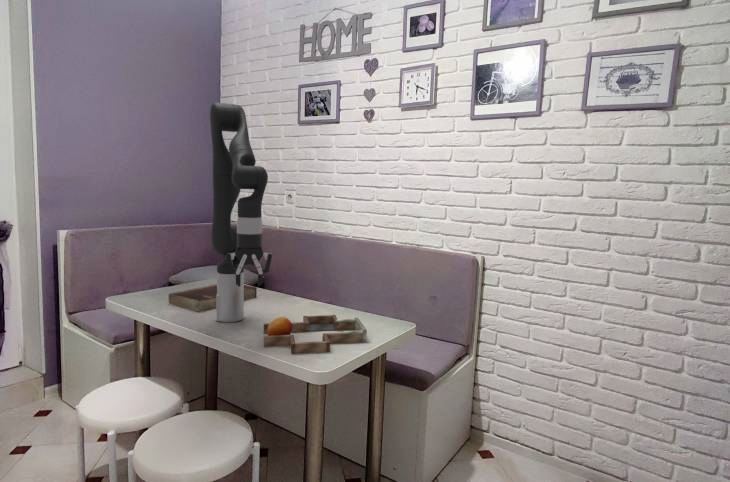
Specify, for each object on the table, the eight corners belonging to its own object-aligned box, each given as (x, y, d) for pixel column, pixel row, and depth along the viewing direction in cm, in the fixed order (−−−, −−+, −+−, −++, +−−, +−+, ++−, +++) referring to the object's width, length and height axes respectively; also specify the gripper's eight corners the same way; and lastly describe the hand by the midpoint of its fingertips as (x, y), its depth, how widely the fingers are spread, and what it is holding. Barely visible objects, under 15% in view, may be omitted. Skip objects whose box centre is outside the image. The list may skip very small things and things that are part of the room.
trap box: (264, 355, 130) (264, 342, 129) (263, 325, 156) (263, 314, 156) (371, 350, 137) (372, 337, 136) (353, 322, 163) (353, 311, 163)
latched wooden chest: (226, 291, 203) (226, 280, 202) (256, 298, 193) (256, 287, 192) (168, 304, 179) (168, 292, 178) (199, 313, 169) (199, 300, 168)
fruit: (295, 339, 140) (282, 317, 139) (274, 351, 140) (261, 329, 139) (300, 330, 148) (287, 310, 147) (279, 342, 148) (267, 321, 147)
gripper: (224, 232, 132) (224, 289, 134) (273, 233, 135) (273, 288, 138) (225, 230, 139) (226, 283, 142) (273, 230, 143) (272, 282, 145)
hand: (249, 285), depth 140 cm, fingers open, 5 cm apart
